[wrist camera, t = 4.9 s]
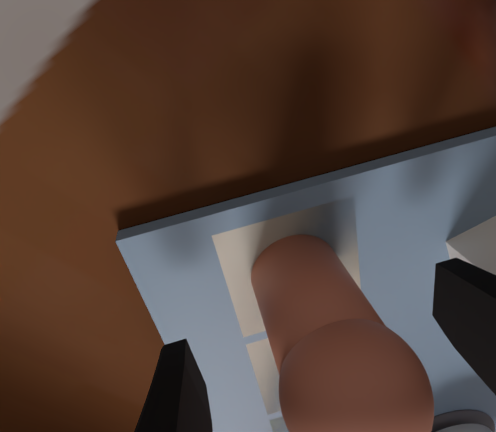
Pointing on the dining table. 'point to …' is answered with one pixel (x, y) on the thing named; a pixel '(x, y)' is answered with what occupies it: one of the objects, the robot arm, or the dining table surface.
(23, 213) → the dining table surface
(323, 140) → the dining table surface
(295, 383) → the pawn
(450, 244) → the die
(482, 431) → the dome
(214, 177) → the dining table surface
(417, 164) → the board
